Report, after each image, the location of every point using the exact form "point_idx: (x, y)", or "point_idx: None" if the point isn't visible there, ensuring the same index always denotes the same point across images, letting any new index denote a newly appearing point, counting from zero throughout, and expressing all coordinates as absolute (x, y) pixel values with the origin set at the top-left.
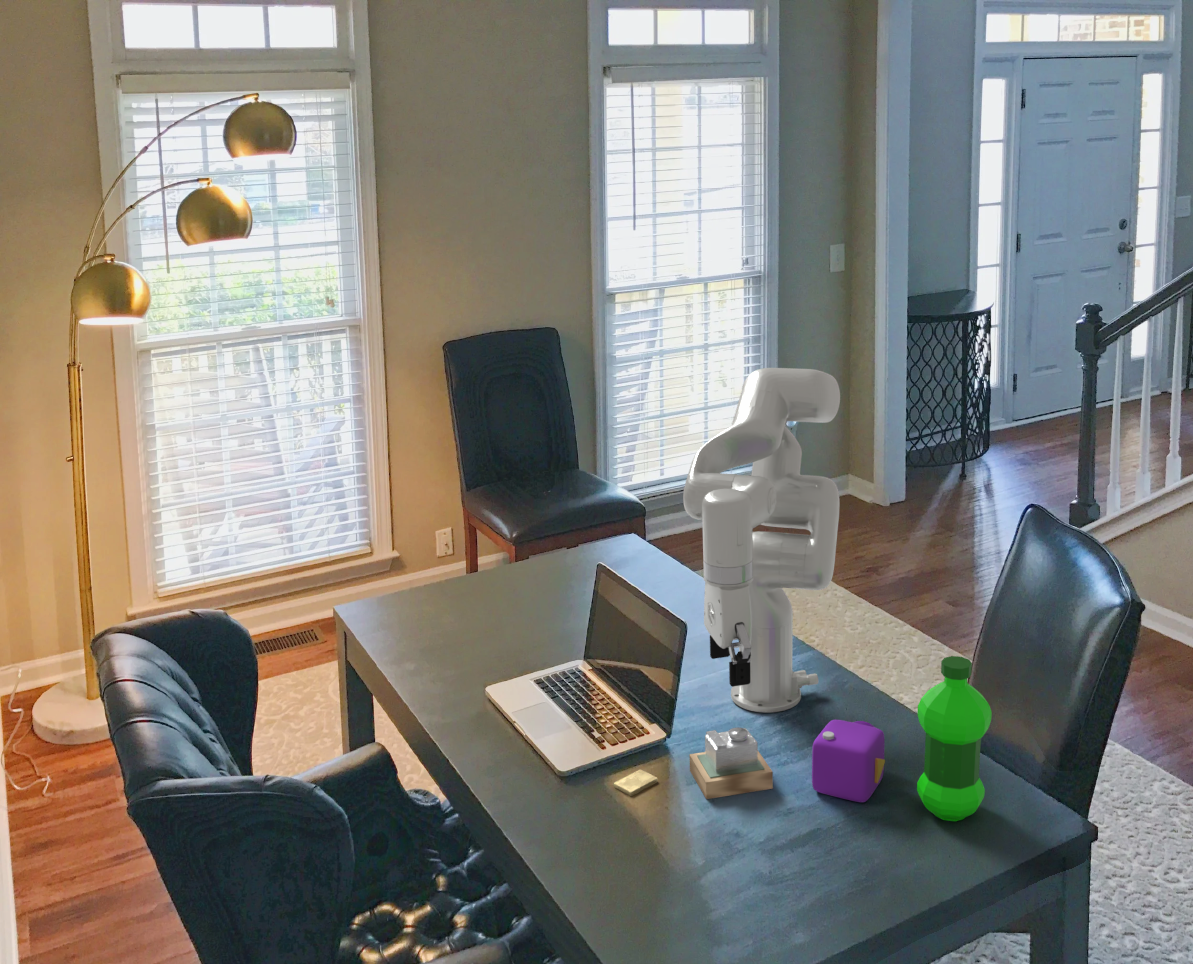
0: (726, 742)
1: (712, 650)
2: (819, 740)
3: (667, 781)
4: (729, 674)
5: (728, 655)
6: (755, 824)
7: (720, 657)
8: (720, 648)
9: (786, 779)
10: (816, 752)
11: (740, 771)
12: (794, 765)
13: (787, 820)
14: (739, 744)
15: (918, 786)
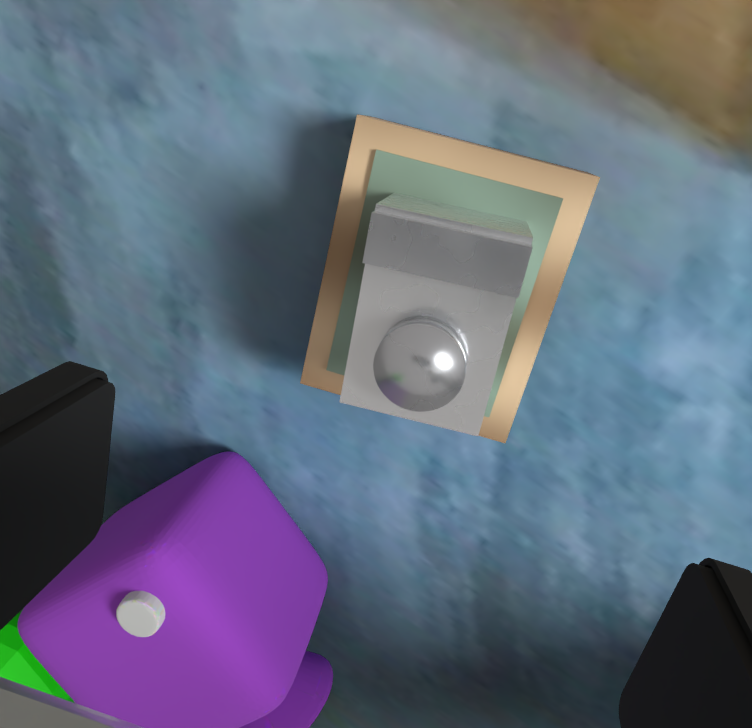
0: (412, 289)
1: (722, 631)
2: (143, 571)
3: (573, 40)
4: (20, 409)
5: (625, 702)
6: (158, 185)
7: (657, 630)
8: (680, 719)
9: (344, 428)
10: (151, 527)
11: (352, 282)
12: (403, 497)
13: (140, 288)
14: (364, 328)
15: (8, 643)
